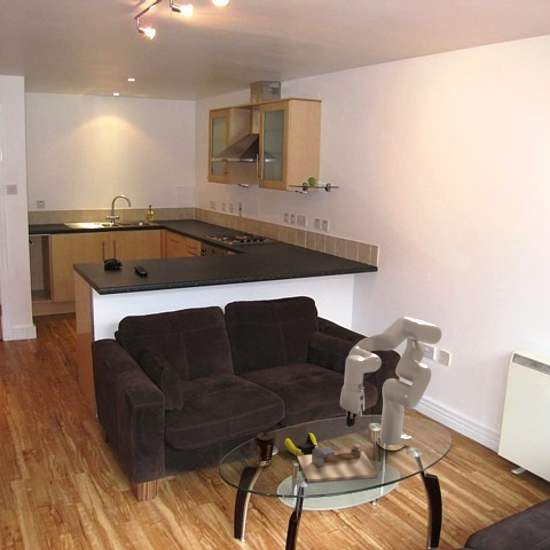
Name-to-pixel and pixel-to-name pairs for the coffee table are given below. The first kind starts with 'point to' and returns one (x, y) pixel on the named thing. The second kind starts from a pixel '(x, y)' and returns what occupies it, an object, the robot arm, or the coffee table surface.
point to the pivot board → (337, 468)
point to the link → (344, 455)
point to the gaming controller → (302, 446)
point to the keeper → (321, 455)
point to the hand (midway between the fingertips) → (350, 425)
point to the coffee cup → (264, 446)
